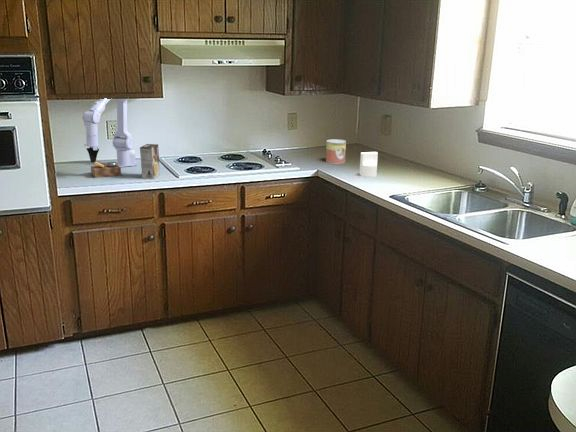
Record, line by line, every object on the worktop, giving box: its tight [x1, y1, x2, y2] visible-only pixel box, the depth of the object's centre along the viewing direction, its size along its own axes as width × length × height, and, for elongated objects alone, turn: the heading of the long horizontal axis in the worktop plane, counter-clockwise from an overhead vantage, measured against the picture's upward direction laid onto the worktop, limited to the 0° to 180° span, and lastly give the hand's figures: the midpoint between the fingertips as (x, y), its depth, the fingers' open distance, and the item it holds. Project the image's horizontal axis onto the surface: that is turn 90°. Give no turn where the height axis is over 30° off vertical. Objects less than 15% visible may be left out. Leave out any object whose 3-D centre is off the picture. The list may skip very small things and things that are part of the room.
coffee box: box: [139, 143, 161, 180], centre depth 301 cm, size 9×6×16 cm
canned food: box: [325, 138, 347, 165], centre depth 343 cm, size 11×11×12 cm
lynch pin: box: [106, 160, 117, 167], centre depth 307 cm, size 5×5×6 cm
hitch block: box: [90, 164, 122, 179], centre depth 306 cm, size 13×10×4 cm
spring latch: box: [93, 161, 105, 167], centre depth 303 cm, size 5×4×1 cm
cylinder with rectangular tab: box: [359, 151, 379, 178], centre depth 313 cm, size 9×9×12 cm
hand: (93, 162), depth 302 cm, fingers closed, pressing on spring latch
